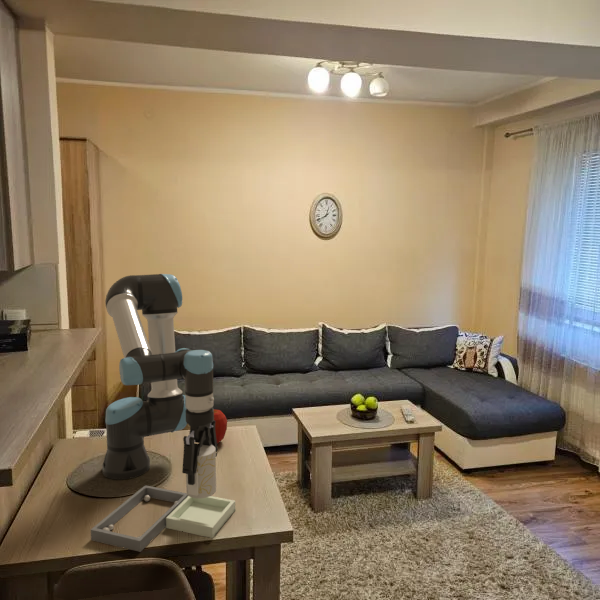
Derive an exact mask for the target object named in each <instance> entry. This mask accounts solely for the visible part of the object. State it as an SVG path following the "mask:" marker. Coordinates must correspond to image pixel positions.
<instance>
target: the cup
mask: <svg viewBox="0 0 600 600" xmlns="http://www.w3.org/2000/svg"><path fill="white" fill-rule="evenodd" d="M216 453H217V452H216V448H215V447H214V446H213V445H210V446H207V445H202V447H201V448H200V452H199V456H197V457H198V463H197V469H196V471H197V472H198V492H199V494H198V495H197V496H196V495H190V494H188V474H185V484H186V485H185V486H186V489H185V490H186V493H187V495H188V496H190V497H192V498H206V497H210V496H213V495H215V494H216V492H217V457H216Z"/></svg>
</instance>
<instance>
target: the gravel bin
mask: <svg viewBox="0 0 600 600" xmlns="http://www.w3.org/2000/svg"><path fill="white" fill-rule="evenodd" d="M187 497H188V495H187V492H182V491H177V490H173V489H172V490H171V489H167V488H162V487H157V486H156V487H155V486H151V485H150V486H149V485H145V484H144V486H143V487H141V488H140V489H138V491H136V492H135V493H134V494H132V495H131V496H130V497H129V498H127V500H125V501H123V502H122V503H121V504H120V505H119V506H118V507H117V508H115V509H113V511H112V512H110V513H109V514H107V516H105V517H104V518H103V519H102V520H100V522H98V523H97V524H95V525H94V526H93V527H92V528H90V540H91V541H92V542H93V541H94V542H97V543H102V544H106V545H108V546H109V545H110V546H113V547H118V548H122V547H124V549H126V548H128V549H127V550H130V551H135V552H140V553H141V552H142V551H144V549H145V548H146V547H147V546H148V545H149V544H150V543H151V542H152V541H153V540H154V539H155V538H156V537H157V536H158V535H159V534H160V533H162V531H163V530H164V529H165V528H166V517H167V516H168V515H169V514H170V513H171V512H172V511H174V510H175V509H176V508H177V507H178V506H179V505H180V504H181V503H182V502H183V501H184V500H185V499H186V498H187ZM151 499H156V500H161V501H166V502H171V503H173V505H171V507H170V508H169V509H167V511H165V513H164V514H162V515H161V516H160V517H159V518H158V519H157V520H156V521H155V522H153V524H152V525H151V526H150V527H149V528H148V529H147V530H146V531H145V532H143V534H142V535H139V536H137V537H136V536H133V535H127V534H124V533H118V532H114V531H112V530H114V528H115V527H114V525H115V524H116V523H117V522H118V521H120V520H121V519H122V518H123V517H125V515H127V514H128V513H129V512H131V510H132V509H134V508H135V507H136V506H137V505H138V504H140V503H141V502H142V501H143V500H144V501H145V502H149V501H151ZM154 537H155V538H154ZM152 539H153V540H152ZM151 540H152V541H151ZM150 541H151V542H150Z"/></svg>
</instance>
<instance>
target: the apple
mask: <svg viewBox="0 0 600 600" xmlns="http://www.w3.org/2000/svg"><path fill="white" fill-rule="evenodd" d="M214 420H215V421H216V423H215V431H216V439H217V445H218V444H219V443H220V442H221V441H222V440H223V439H225V435H226V433H227V429H228V419H227V417H226V415H225V414H224V413H223V412H222V410H220V409H214Z"/></svg>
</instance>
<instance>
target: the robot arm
mask: <svg viewBox="0 0 600 600" xmlns="http://www.w3.org/2000/svg"><path fill="white" fill-rule="evenodd" d="M104 301H105V302H104V303H105V309H106V312H107V314H108V315H109V316H110V318H112V321H113V323H114V328H115V331H116V335H117V338H118V340H119V345H120V348H121V351H122V354H123V358H121V359H120V361H119V369H118V370H119V376H120V381H121V383H122V385H124V386H136V385H137V386H139V385H144V384H145V385H146V384H151V390H150V392H149V393H148V394H147V400H145V401H143V400H142V398H140V397H137V396H135V397H134V396H129V397H128V396H127V397H123V398H121V399H118V400H115V401H114V402H112V403H110V404H109V405H108V406H107V408H106V409H105V420H104V421H105V427H106V428H105V429H106V430H105V431H106V432H105V433H106V452H105V455H104V459H103V463H102V465H101V467H102V475H103V476H104V477H106V478H108V479H112V480H129V479H133V478H137V477H140V476H141V475H143V474H146V473H147V472H148V471H149V469H150V467H151V460H150V456H149V455H148V452H147V449H146V446H145V441H144V438H145V437H146V438H147V437H151V436H156V435H162V434H163V435H164V434H167V433H174V432H177V431H181V430H184V429H185V428H186V426H187V425H189V427H190V429H189V434H188V435H184V436H183V438H182V440H183V456H182V457H183V458H182V471H181V472H182V474H185V475H186V474H188V494H190V495H196V496H197V495H198V494H199V492H198V472H197V471H196V469H197V463H198V457H197V456H199V452H200V448H201V447H202V445H207V446H210V445H213V446H214V447H215V448H216V458H217V456H218V450H219V449H218V444H217V439H216V431H215V423H216V421H215V420H214V401H215V398H214V362H213V361H214V360H213V354H212V353H211V352H210V351H209V350H205V349H195V350H193V349H190V348H187V347H186V348H185V347H183V348H178V349H177V350H176V341H175V338H176V337H175V323H174V322H175V321H174V318H175V317H176V315H177V314H178V308H181V307H182V305H183V292H182V288H181V285H180V282H179V280H178V278H177V277H176V276H175V275H174V274H170V273H156V274H138V275H137V274H136V275H135V274H134V275H126V276H123V277H121V278H119V279H118V280H116V281H115V282H114V283H113V284H112V285H111V286H110V287H109V289H108V291H107V293H106V297H105V300H104ZM138 311H141V314H142V316H143V317H144V318H145V319H146V320H147V333H148V334H146V332H145V329H144V326H143V323H142V321H141V319H140V315H139V313H138ZM147 335H148V338H147ZM180 379H182V380H183V381H184V392H185V393H184V394H183V390H182V389H181V388H179V386H178V380H180Z"/></svg>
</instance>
